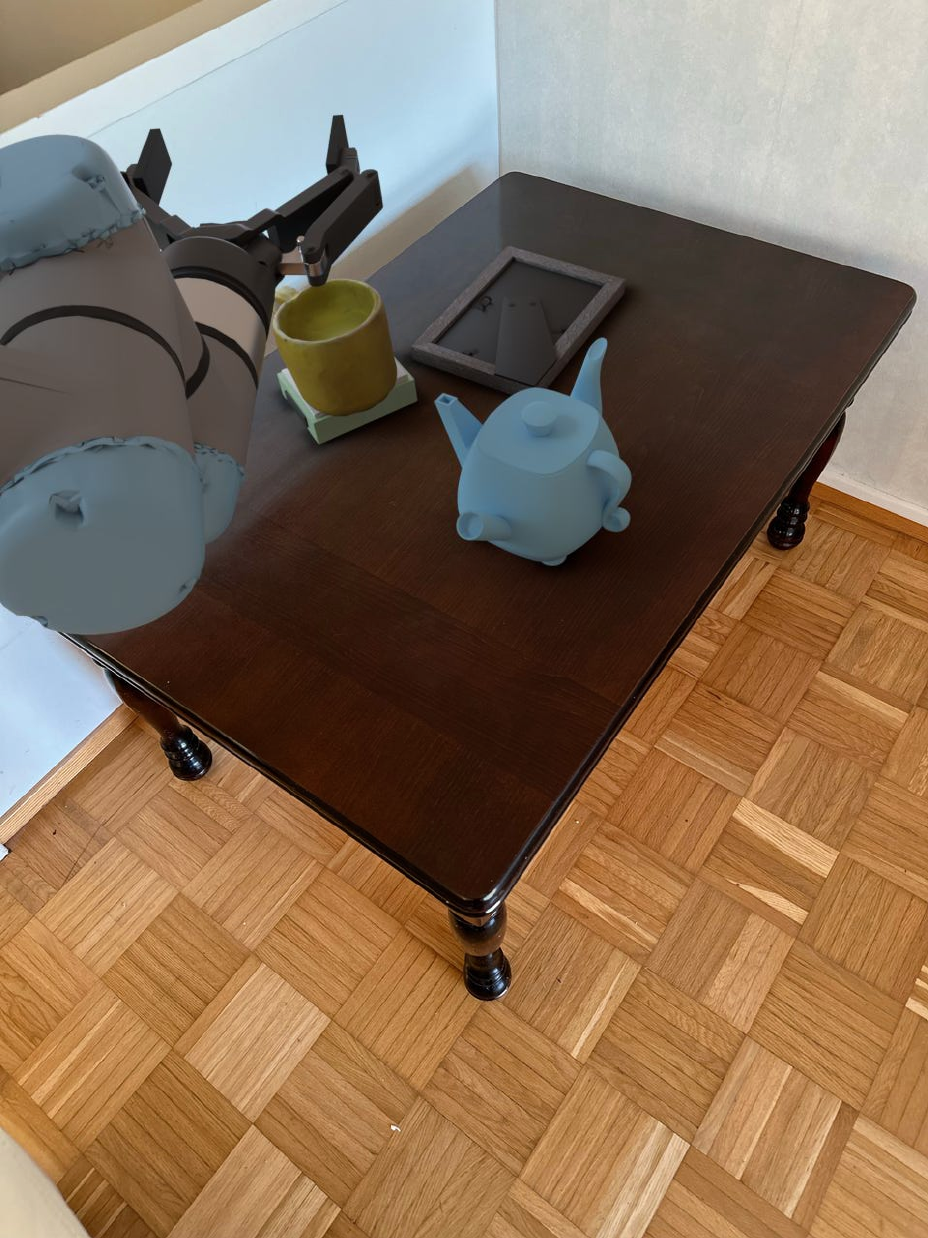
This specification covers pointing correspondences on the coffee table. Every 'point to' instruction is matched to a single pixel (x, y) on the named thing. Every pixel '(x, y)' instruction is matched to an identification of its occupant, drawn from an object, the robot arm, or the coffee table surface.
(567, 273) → the picture frame
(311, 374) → the mug
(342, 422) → the scale
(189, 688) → the coffee table surface
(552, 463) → the teapot
